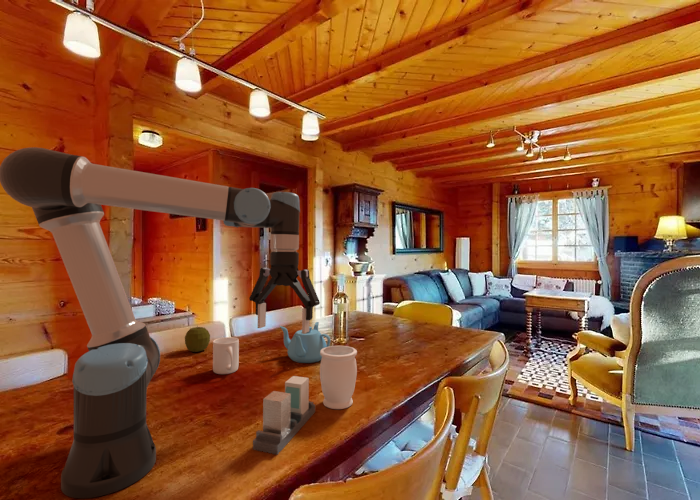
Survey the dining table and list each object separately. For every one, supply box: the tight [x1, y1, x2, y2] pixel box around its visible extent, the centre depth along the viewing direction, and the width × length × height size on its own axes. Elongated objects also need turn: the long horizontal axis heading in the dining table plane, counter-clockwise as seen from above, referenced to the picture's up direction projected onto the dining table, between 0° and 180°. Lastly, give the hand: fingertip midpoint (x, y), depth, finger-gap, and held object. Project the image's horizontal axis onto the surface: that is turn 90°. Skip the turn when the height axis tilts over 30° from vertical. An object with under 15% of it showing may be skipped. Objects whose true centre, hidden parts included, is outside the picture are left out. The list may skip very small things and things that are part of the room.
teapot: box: [279, 321, 331, 364], centre depth 137 cm, size 17×19×12 cm
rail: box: [252, 390, 316, 456], centre depth 83 cm, size 20×6×10 cm, turn 162°
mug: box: [212, 336, 240, 375], centre depth 120 cm, size 9×12×11 cm
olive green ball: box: [184, 325, 211, 353], centre depth 144 cm, size 10×10×11 cm
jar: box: [319, 345, 358, 410], centre depth 97 cm, size 11×10×15 cm
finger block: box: [284, 375, 310, 415], centre depth 88 cm, size 5×4×8 cm
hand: (283, 329), depth 92 cm, fingers open, 13 cm apart
